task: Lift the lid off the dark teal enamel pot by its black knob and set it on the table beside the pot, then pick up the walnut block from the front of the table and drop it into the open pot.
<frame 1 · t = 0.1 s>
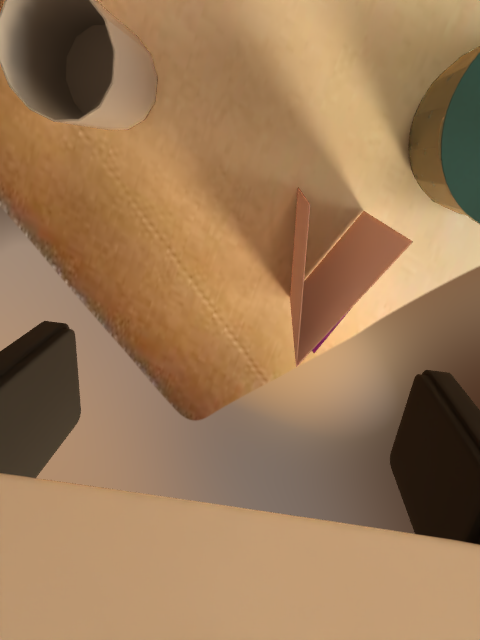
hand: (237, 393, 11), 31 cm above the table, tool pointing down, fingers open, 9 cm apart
cup: (113, 80, 36), on the table
greeting card: (303, 240, 40), on the table
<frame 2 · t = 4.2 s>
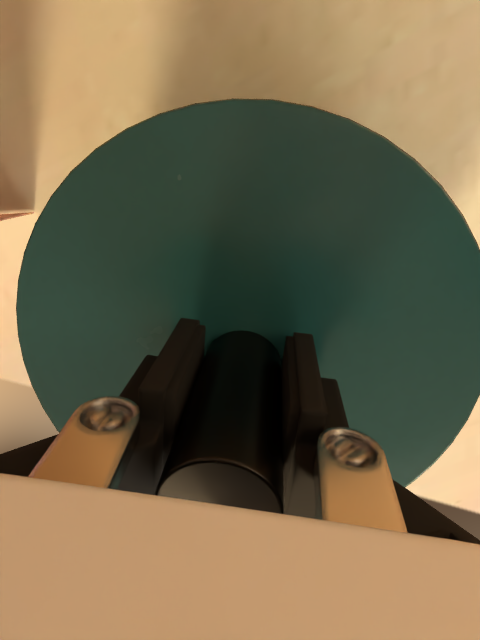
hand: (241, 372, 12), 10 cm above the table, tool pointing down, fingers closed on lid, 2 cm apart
lid: (244, 355, 13), point 9 cm above the table, touching gripper, pot
when the fingers open (2 cm above the table, at t = 11.9 s): lid stays where it is, point 1 cm above the table.
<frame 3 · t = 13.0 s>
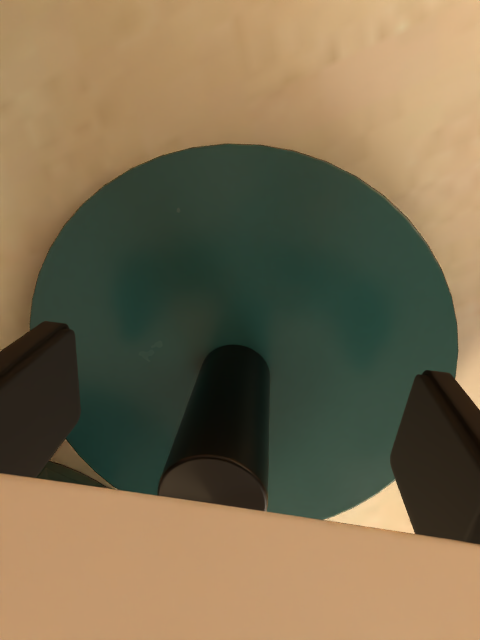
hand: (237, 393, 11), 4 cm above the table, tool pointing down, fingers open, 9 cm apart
lid: (236, 367, 14), point 1 cm above the table
pot: (36, 562, 20), on the table
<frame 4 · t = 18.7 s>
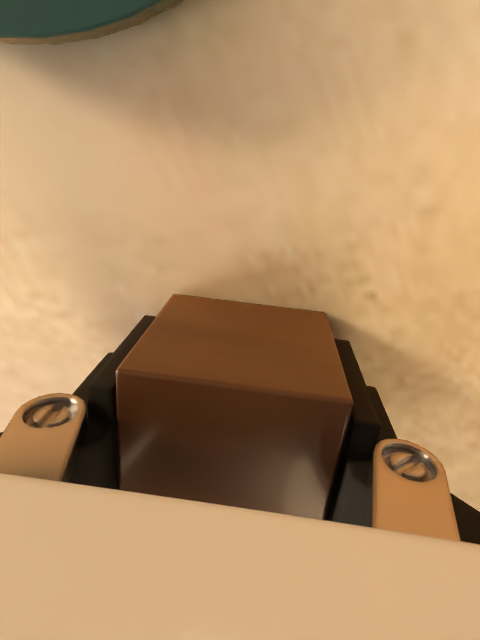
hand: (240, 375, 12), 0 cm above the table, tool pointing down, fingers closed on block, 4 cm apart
block: (241, 369, 12), on the table, touching gripper
when the fingers open (9 cm above the table, at t = 26.0 s): block drops 8 cm, resting on pot.
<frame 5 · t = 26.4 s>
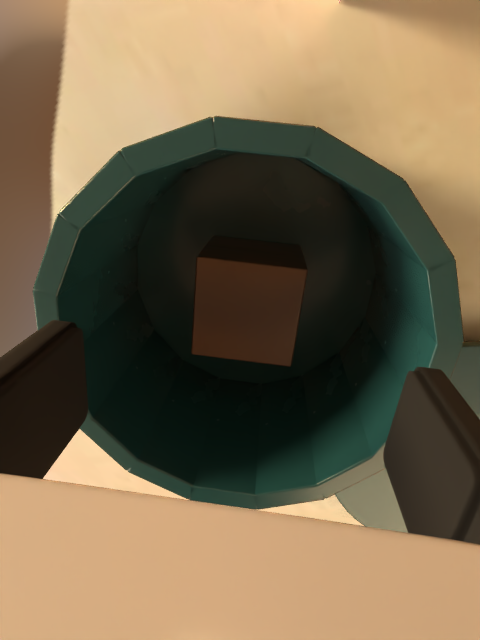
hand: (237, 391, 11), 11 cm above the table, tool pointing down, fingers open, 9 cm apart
lid: (451, 452, 23), point 1 cm above the table
pot: (253, 278, 21), on the table
block: (252, 282, 20), resting on pot
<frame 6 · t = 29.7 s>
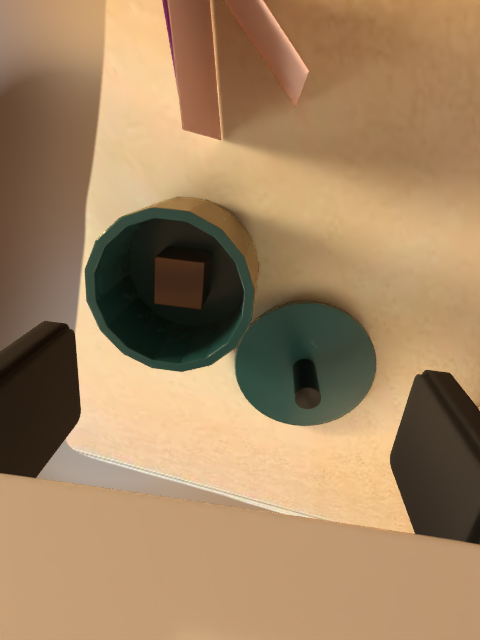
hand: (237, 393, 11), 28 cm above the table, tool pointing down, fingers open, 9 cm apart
lid: (303, 365, 41), point 1 cm above the table
pot: (190, 268, 39), on the table
greeting card: (249, 60, 32), on the table
block: (188, 270, 39), resting on pot
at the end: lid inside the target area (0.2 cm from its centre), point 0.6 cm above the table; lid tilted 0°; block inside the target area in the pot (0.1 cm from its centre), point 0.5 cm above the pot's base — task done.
